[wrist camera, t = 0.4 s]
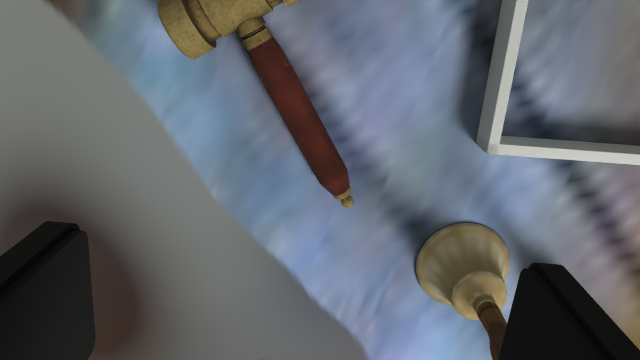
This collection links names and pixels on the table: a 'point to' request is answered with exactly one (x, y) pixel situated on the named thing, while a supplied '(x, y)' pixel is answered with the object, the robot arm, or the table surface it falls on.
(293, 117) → the gavel
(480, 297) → the hand bell
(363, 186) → the table surface
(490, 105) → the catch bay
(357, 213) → the table surface
